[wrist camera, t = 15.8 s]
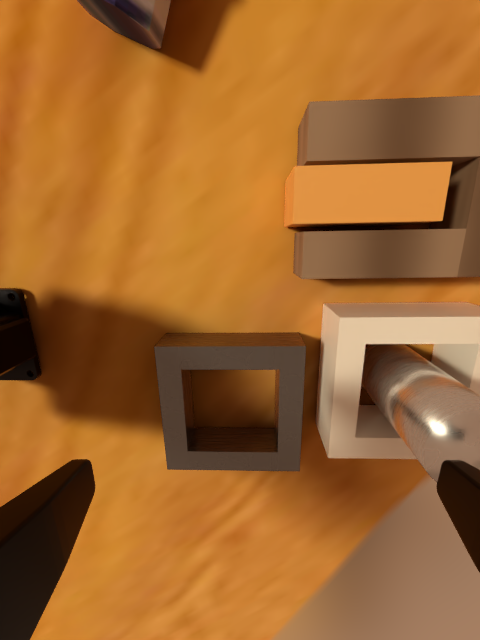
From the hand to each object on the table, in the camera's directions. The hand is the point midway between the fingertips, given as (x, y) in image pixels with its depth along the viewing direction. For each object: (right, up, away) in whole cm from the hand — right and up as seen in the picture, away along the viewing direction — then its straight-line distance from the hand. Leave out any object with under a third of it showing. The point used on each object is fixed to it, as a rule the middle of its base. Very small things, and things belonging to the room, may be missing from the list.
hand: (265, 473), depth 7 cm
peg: (+9, +1, +12) cm, 15 cm away
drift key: (+5, +11, +9) cm, 15 cm away
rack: (+9, +1, +12) cm, 15 cm away
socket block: (-1, -1, +13) cm, 13 cm away
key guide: (+7, +11, +9) cm, 16 cm away
